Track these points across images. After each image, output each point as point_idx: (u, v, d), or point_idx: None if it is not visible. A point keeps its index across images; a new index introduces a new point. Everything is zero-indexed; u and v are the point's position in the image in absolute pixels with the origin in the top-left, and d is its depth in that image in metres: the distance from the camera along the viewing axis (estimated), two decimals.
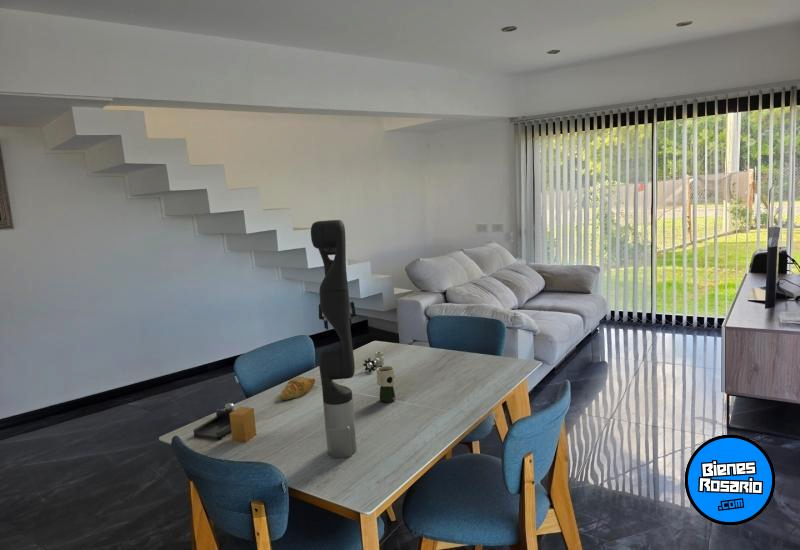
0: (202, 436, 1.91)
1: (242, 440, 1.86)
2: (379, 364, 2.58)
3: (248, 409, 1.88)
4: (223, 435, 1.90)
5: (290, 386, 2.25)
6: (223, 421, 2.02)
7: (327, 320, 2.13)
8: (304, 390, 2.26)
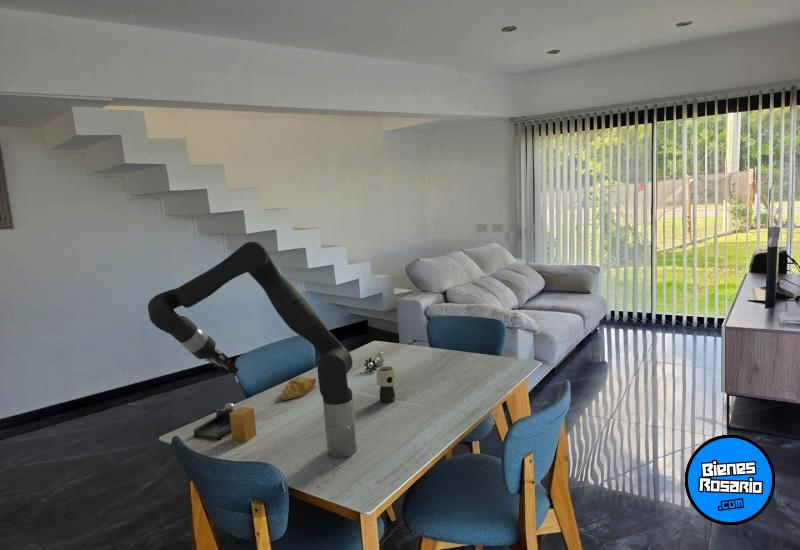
0: (202, 436, 1.91)
1: (242, 440, 1.86)
2: (380, 364, 2.59)
3: (248, 409, 1.88)
4: (223, 435, 1.90)
5: (290, 386, 2.25)
6: (223, 421, 2.02)
7: None
8: (304, 390, 2.26)
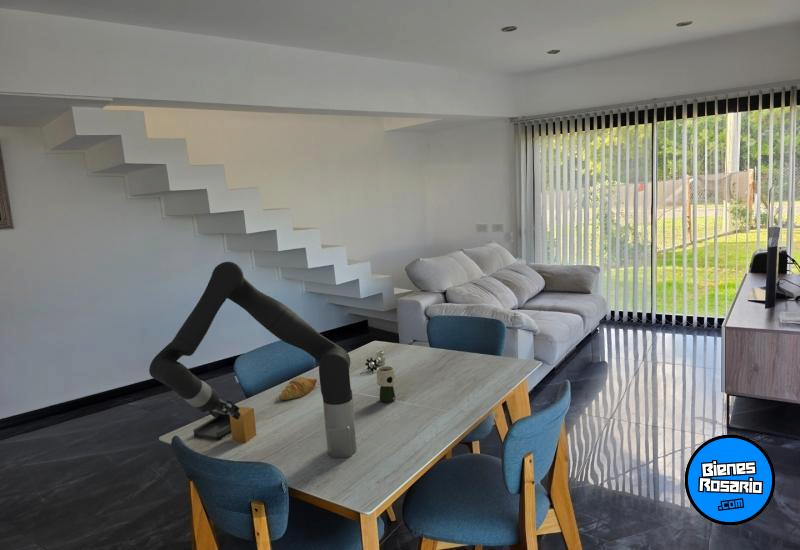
0: (202, 436, 1.91)
1: (242, 440, 1.86)
2: (380, 363, 2.59)
3: (248, 409, 1.88)
4: (223, 435, 1.90)
5: (290, 386, 2.24)
6: (223, 421, 2.02)
7: None
8: (304, 391, 2.26)
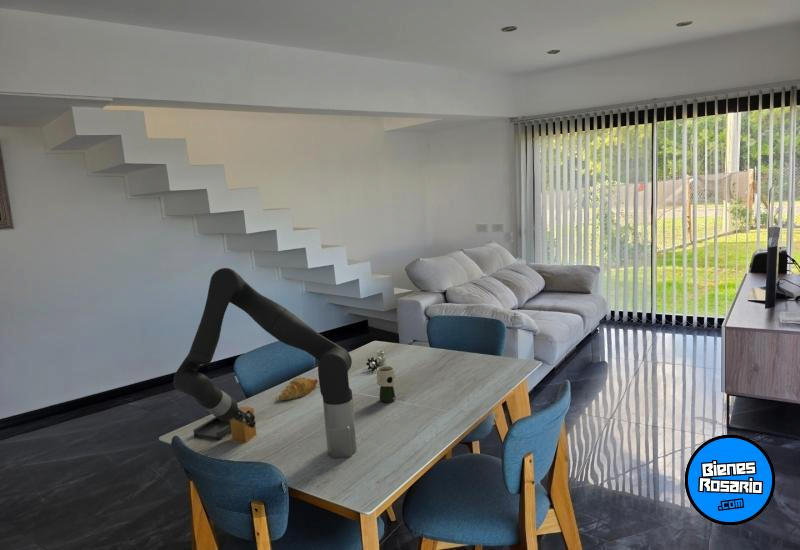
0: (202, 436, 1.91)
1: (242, 440, 1.86)
2: (381, 363, 2.60)
3: (248, 409, 1.88)
4: (223, 435, 1.90)
5: (290, 387, 2.24)
6: (223, 421, 2.02)
7: None
8: (304, 391, 2.25)
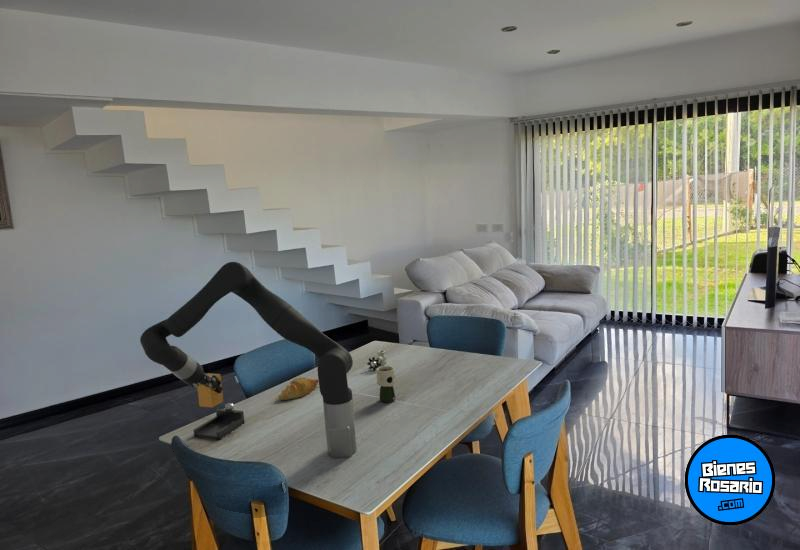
0: (202, 436, 1.91)
1: (208, 405, 1.90)
2: (382, 363, 2.60)
3: (215, 375, 1.92)
4: (223, 435, 1.90)
5: (290, 386, 2.24)
6: (223, 421, 2.02)
7: None
8: (304, 391, 2.25)
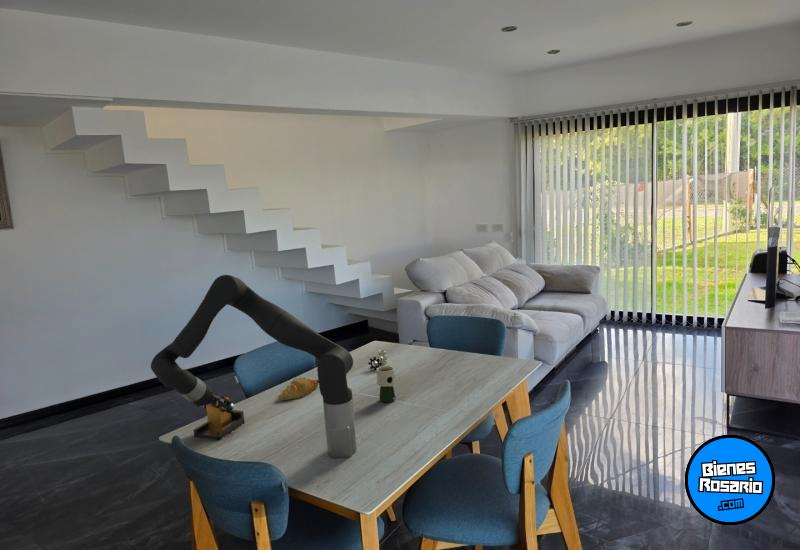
0: (202, 436, 1.91)
1: (218, 428, 1.94)
2: (383, 362, 2.60)
3: None
4: (223, 435, 1.90)
5: (290, 387, 2.24)
6: None
7: None
8: (304, 391, 2.25)
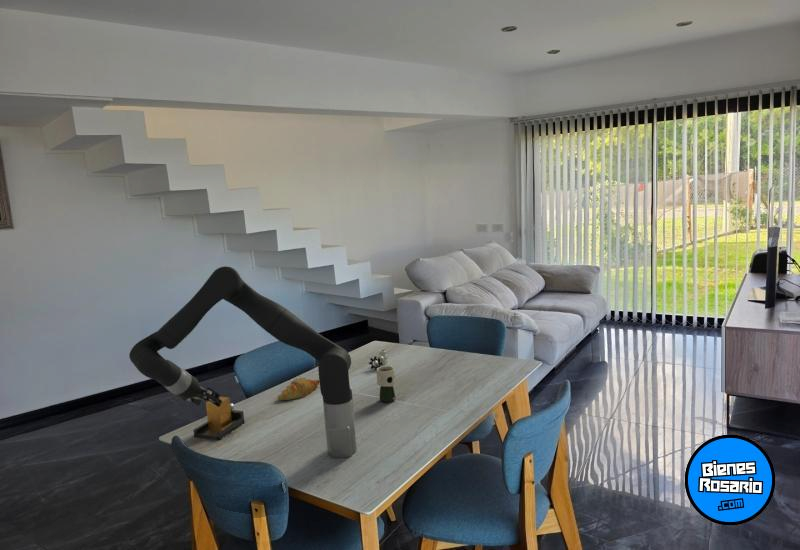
0: (202, 436, 1.91)
1: (218, 428, 1.94)
2: (383, 362, 2.61)
3: (224, 398, 1.96)
4: (223, 435, 1.90)
5: (290, 387, 2.24)
6: None
7: None
8: (304, 392, 2.24)
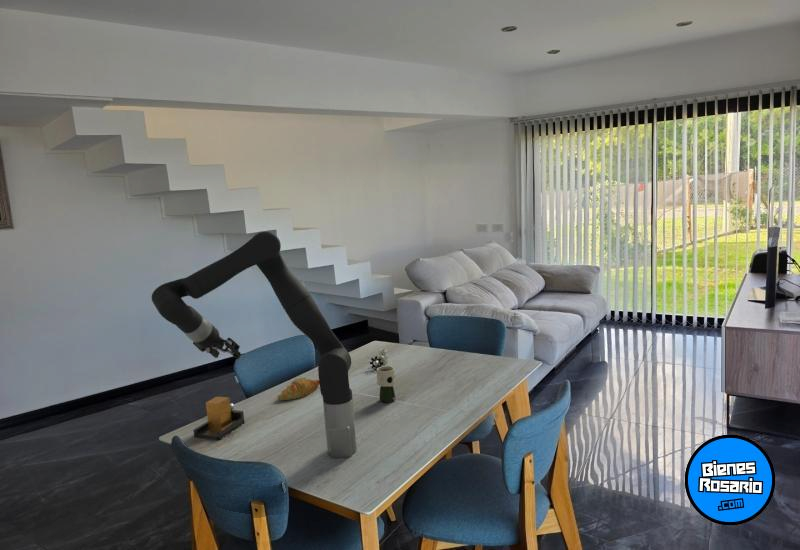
0: (202, 436, 1.91)
1: (218, 428, 1.94)
2: (384, 362, 2.61)
3: (224, 398, 1.96)
4: (223, 435, 1.90)
5: (290, 387, 2.24)
6: None
7: None
8: (304, 392, 2.24)
